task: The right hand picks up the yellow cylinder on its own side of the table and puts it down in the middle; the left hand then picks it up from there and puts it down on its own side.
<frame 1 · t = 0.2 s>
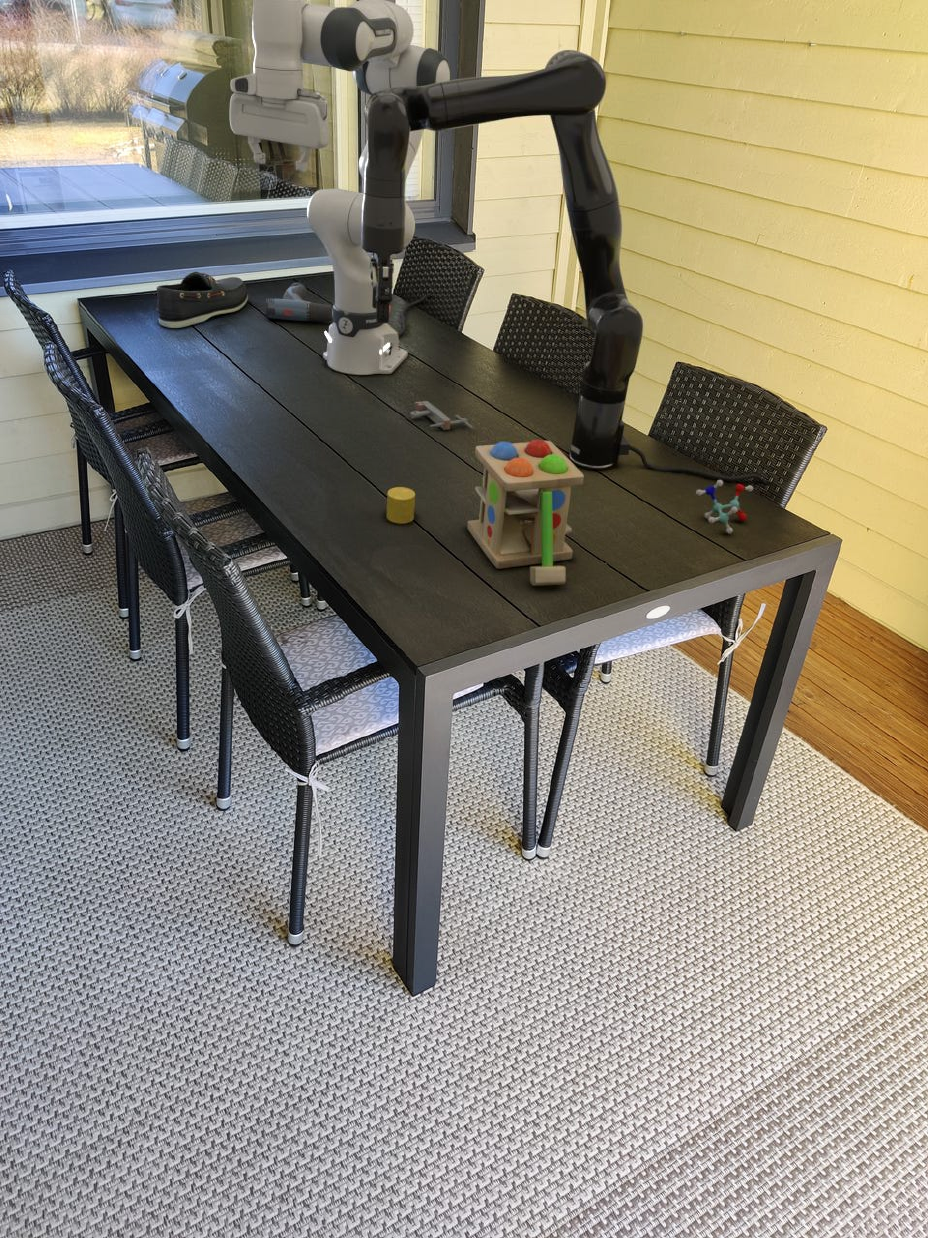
left hand: (280, 167, 187), 48 cm above the table, tool pointing down, fingers open, 8 cm apart
right hand: (380, 315, 178), 29 cm above the table, tool pointing down, fingers open, 8 cm apart
clamp: (438, 423, 212), on the table
molecular model: (718, 522, 185), on the table
boat shoe: (204, 312, 261), on the table
power drill: (305, 313, 267), on the table
pounding bench toy: (527, 556, 168), on the table
yellow cylinder: (400, 517, 176), on the table
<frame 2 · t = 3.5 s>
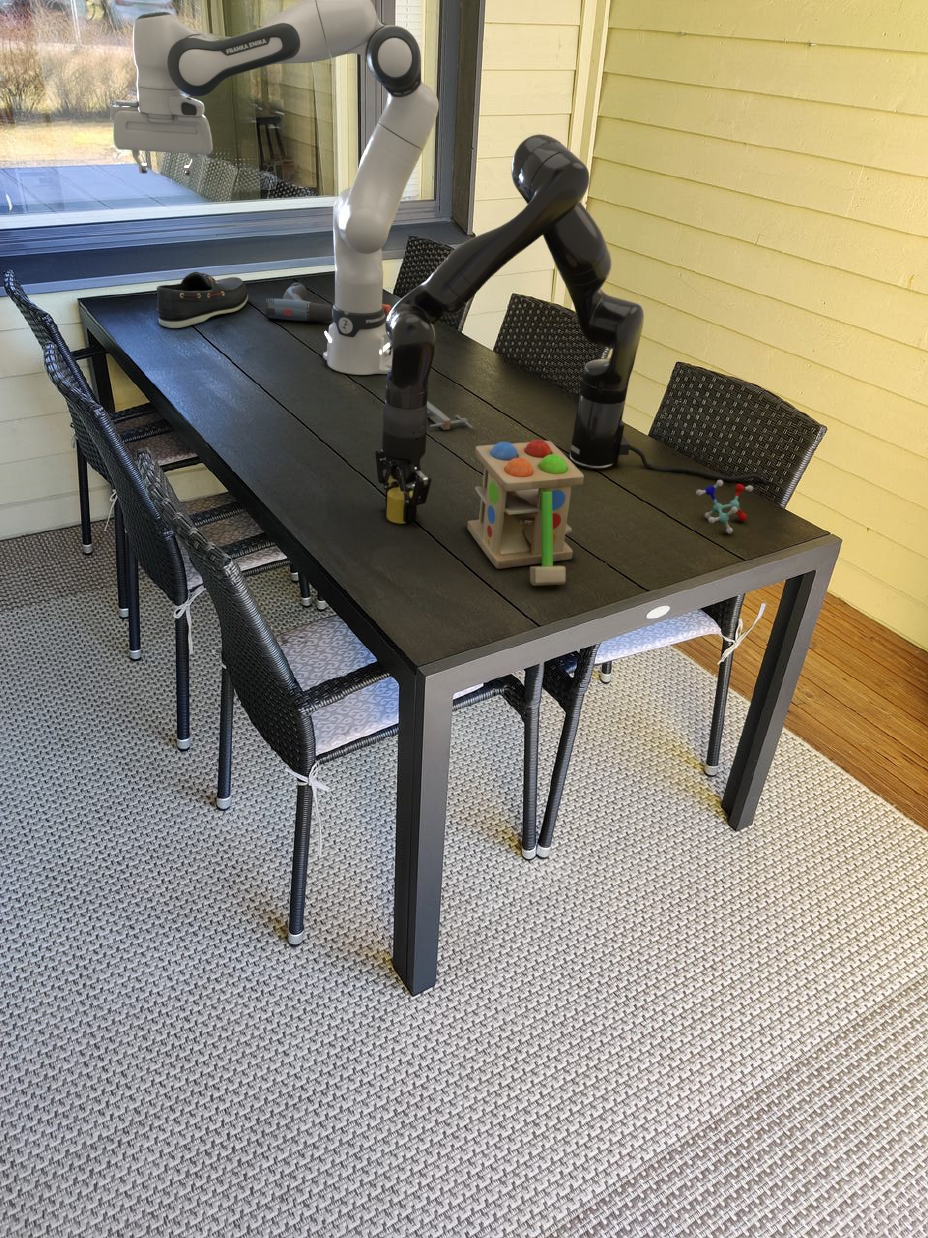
left hand: (166, 174, 212), 40 cm above the table, tool pointing down, fingers open, 8 cm apart
right hand: (400, 514, 176), 1 cm above the table, tool pointing down, fingers closed on yellow cylinder, 5 cm apart
yellow cylinder: (400, 517, 176), on the table, touching right hand
everything else where it was.
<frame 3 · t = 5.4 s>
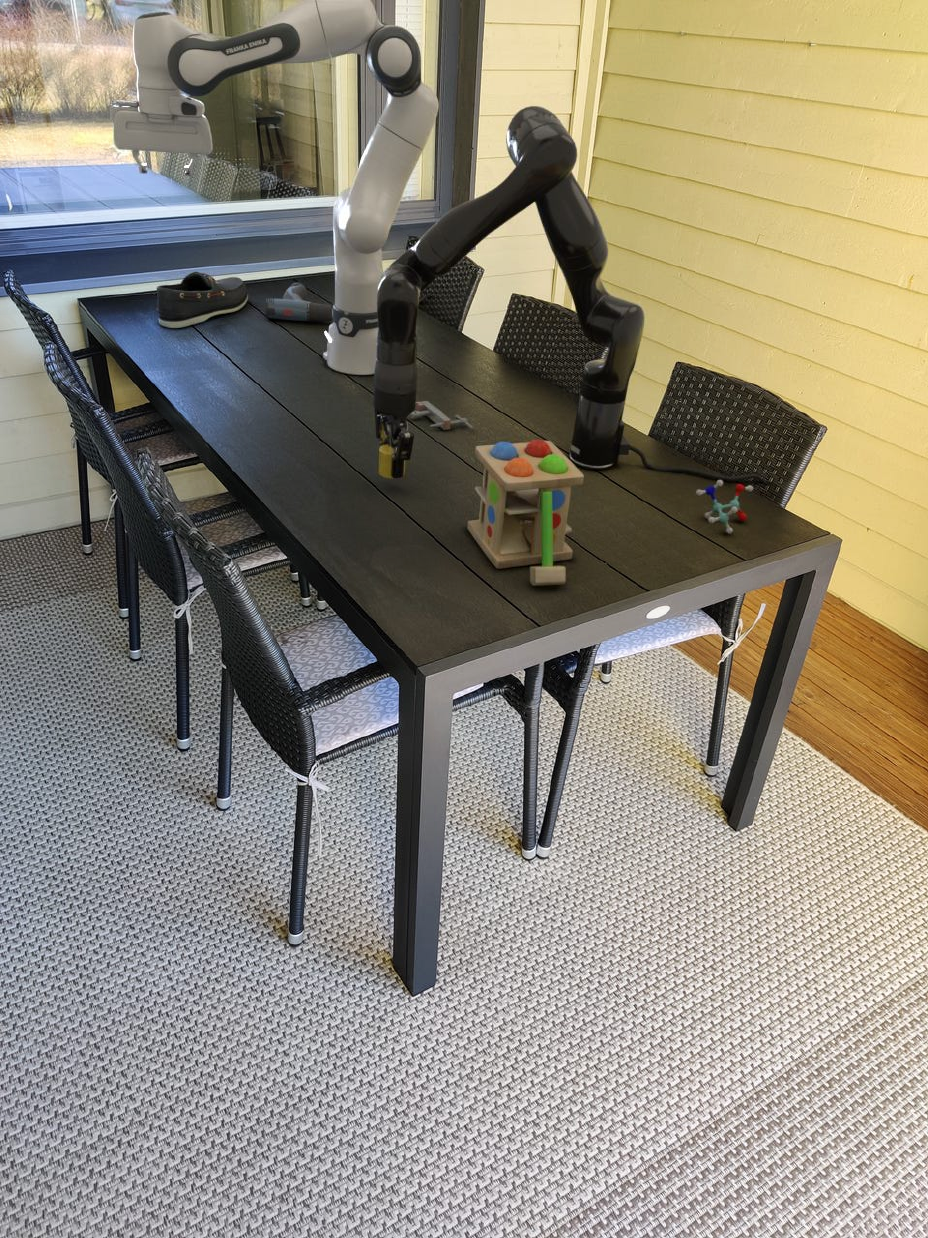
left hand: (166, 174, 212), 40 cm above the table, tool pointing down, fingers open, 8 cm apart
right hand: (391, 470, 183), 4 cm above the table, tool pointing down, fingers closed on yellow cylinder, 5 cm apart
yellow cylinder: (391, 472, 183), point 3 cm above the table, touching right hand
everything else where it was.
when the right hand's fingers open (1 cm above the table, at t = 7.2 s): yellow cylinder stays where it is, on the table.
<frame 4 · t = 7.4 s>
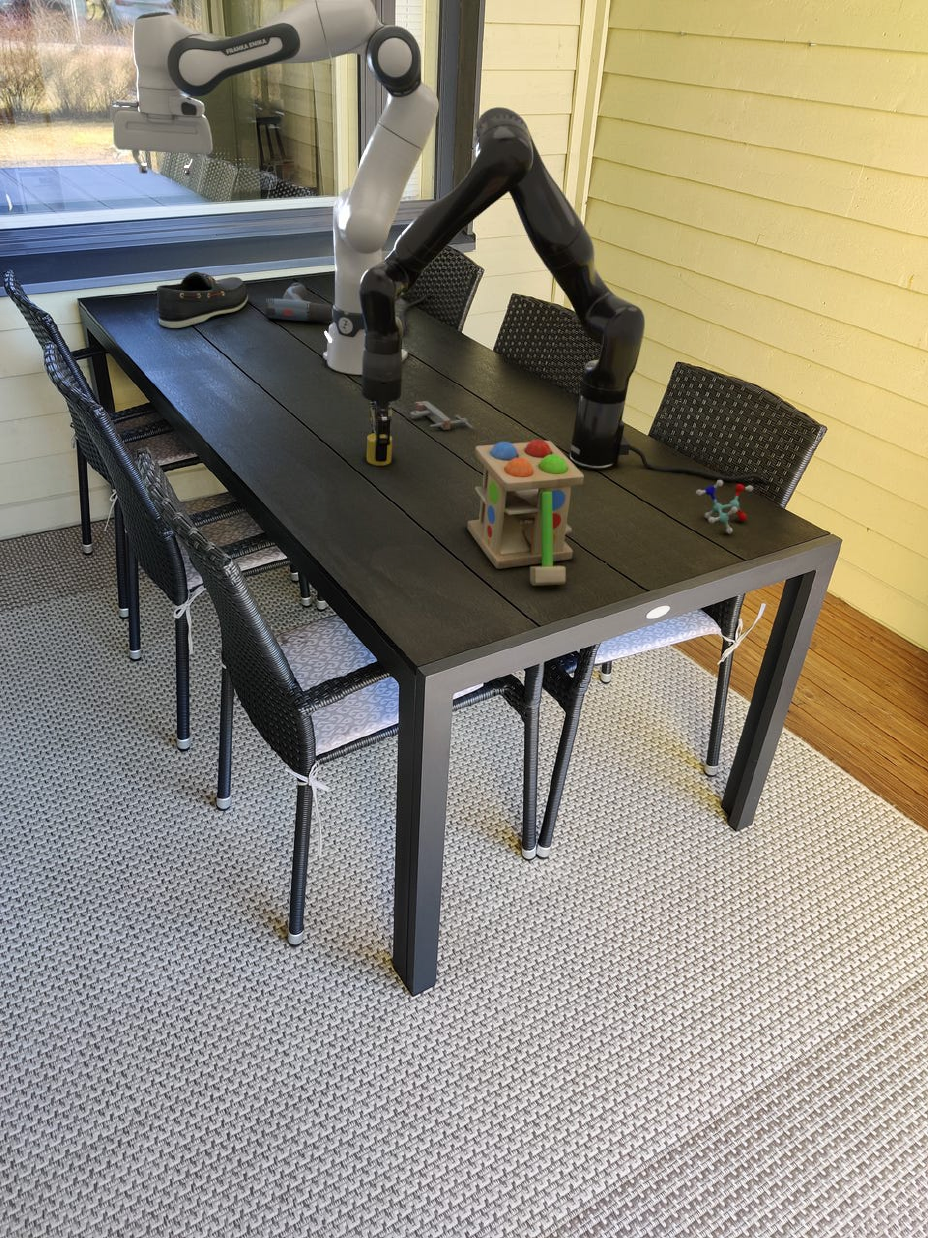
left hand: (166, 174, 212), 40 cm above the table, tool pointing down, fingers open, 8 cm apart
right hand: (379, 452, 194), 2 cm above the table, tool pointing down, fingers open, 6 cm apart
yellow cylinder: (379, 460, 195), on the table
everything else where it was.
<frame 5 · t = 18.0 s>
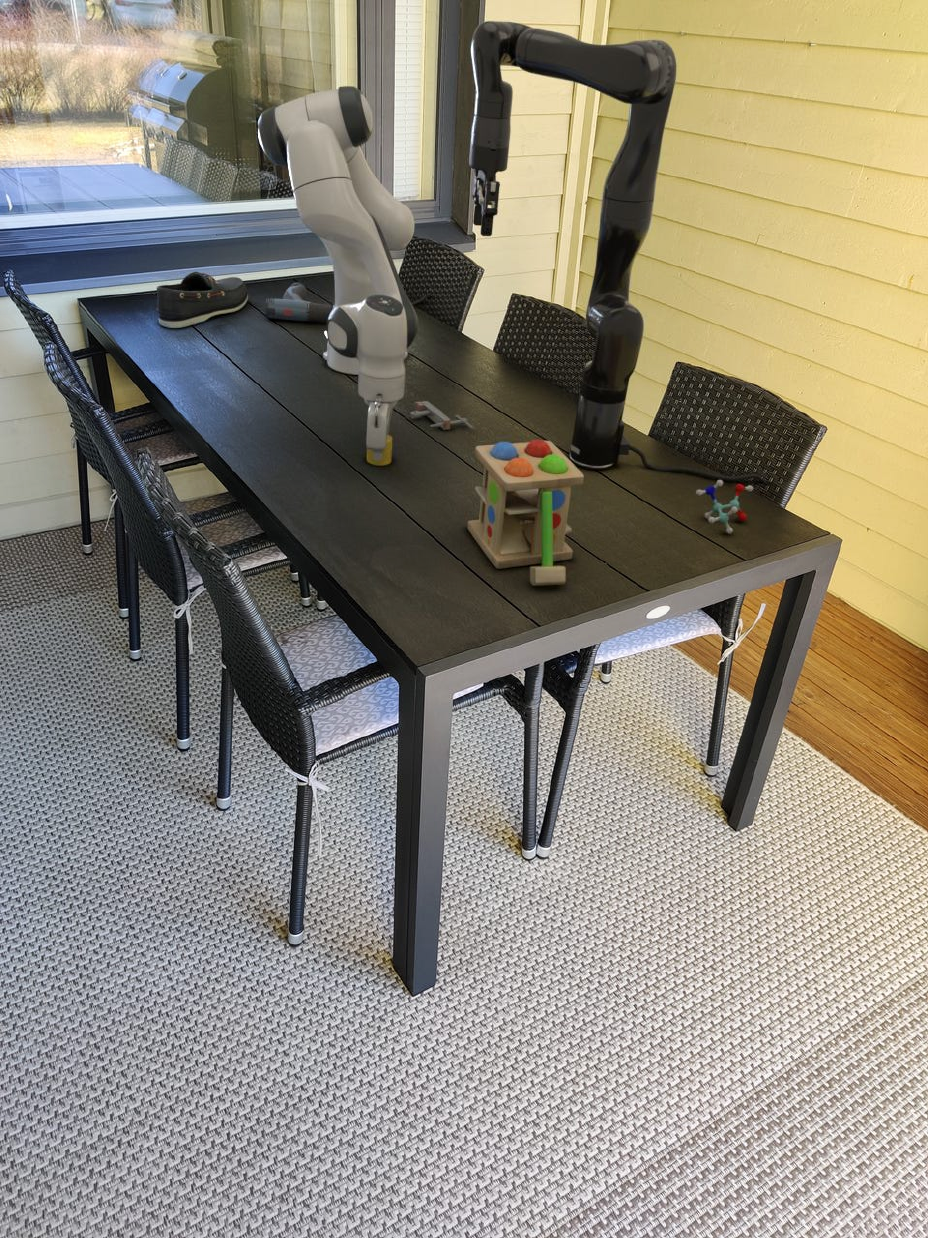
left hand: (378, 452, 194), 2 cm above the table, tool pointing down, fingers closed on yellow cylinder, 5 cm apart
right hand: (482, 230, 198), 39 cm above the table, tool pointing down, fingers open, 8 cm apart
yellow cylinder: (379, 460, 195), on the table, touching left hand
everything else where it was.
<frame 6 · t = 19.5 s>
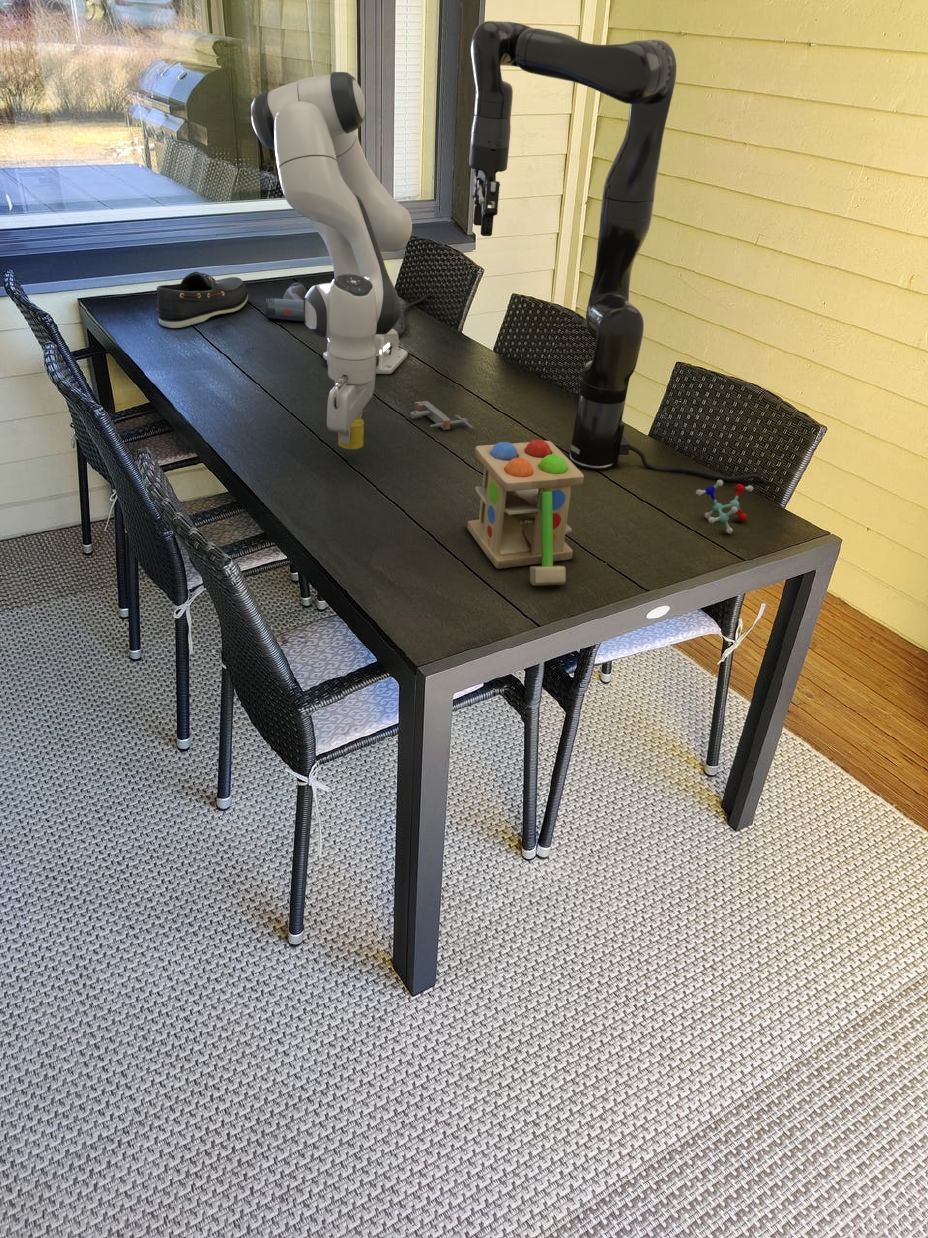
left hand: (350, 435, 191), 5 cm above the table, tool pointing down, fingers closed on yellow cylinder, 5 cm apart
right hand: (482, 230, 198), 39 cm above the table, tool pointing down, fingers open, 8 cm apart
yellow cylinder: (350, 444, 192), point 3 cm above the table, touching left hand
everything else where it was.
when the left hand's fingers open (2 cm above the table, at t = 21.1 s): yellow cylinder stays where it is, on the table.
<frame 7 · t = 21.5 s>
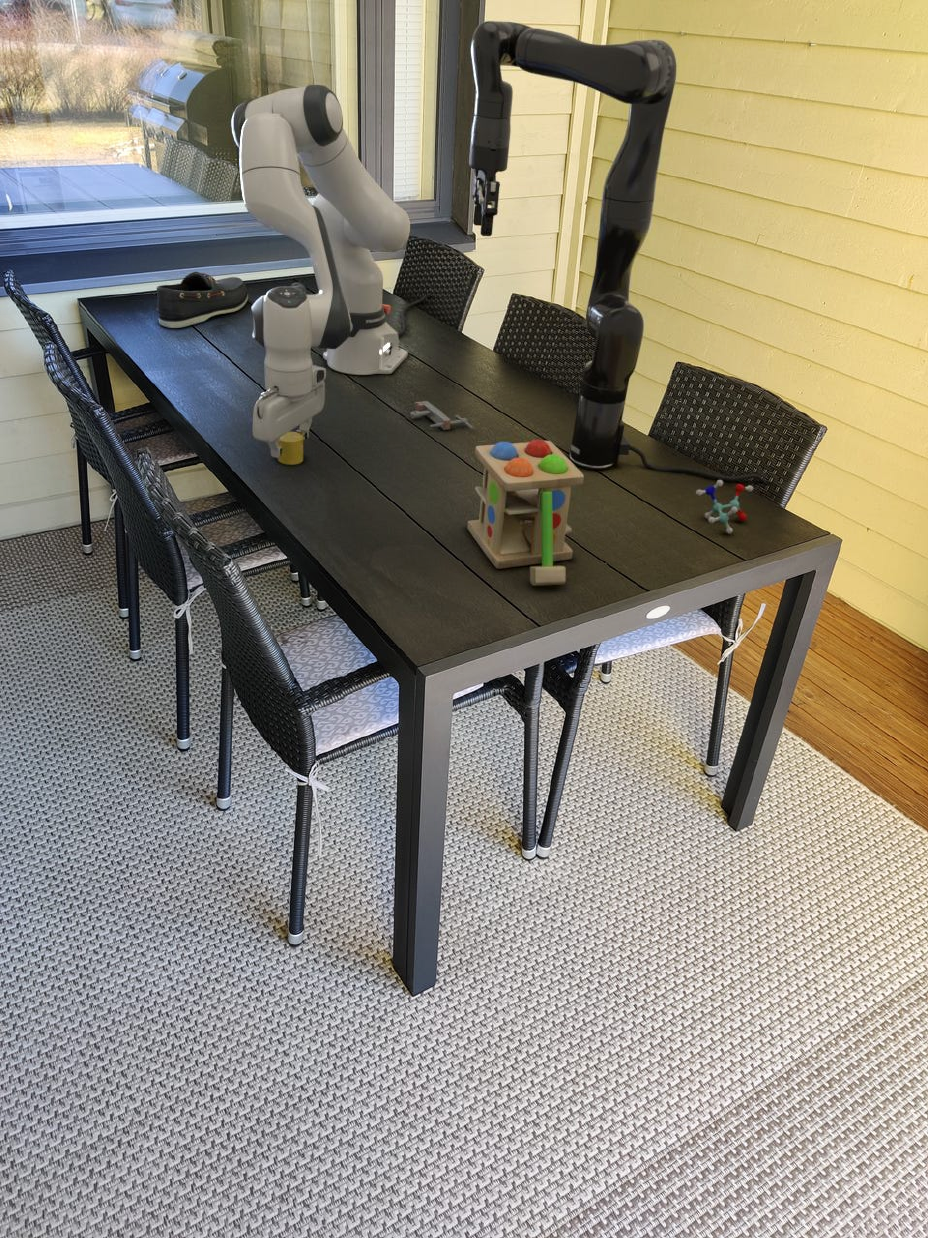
left hand: (290, 447, 191), 3 cm above the table, tool pointing down, fingers open, 8 cm apart
right hand: (482, 230, 198), 39 cm above the table, tool pointing down, fingers open, 8 cm apart
yellow cylinder: (290, 459, 192), on the table
everything else where it was.
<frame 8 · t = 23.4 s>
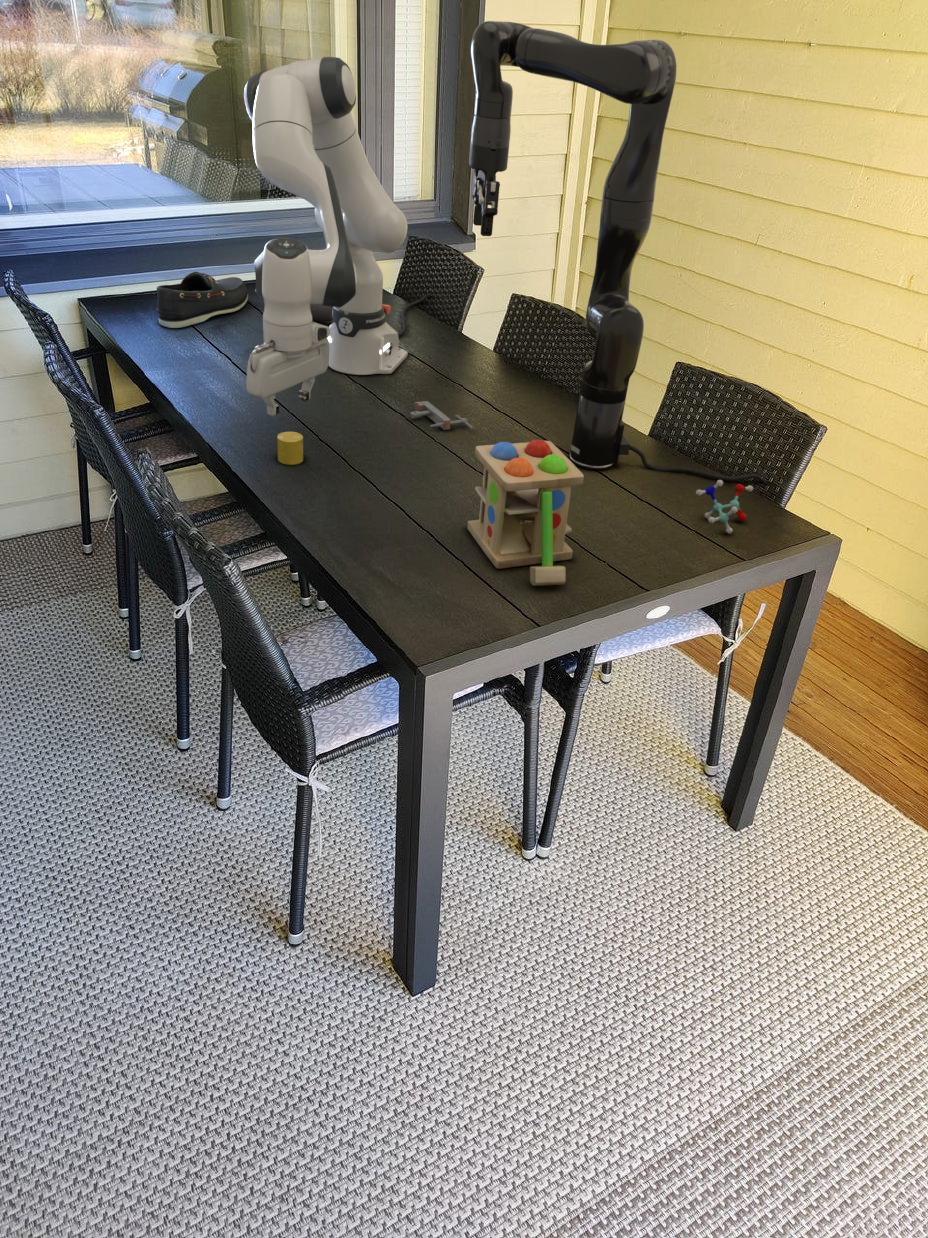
left hand: (289, 406, 186), 11 cm above the table, tool pointing down, fingers open, 8 cm apart
right hand: (482, 230, 198), 39 cm above the table, tool pointing down, fingers open, 8 cm apart
nothing on the table moved.
at the end: yellow cylinder inside the target area (0.1 cm from its centre), on the table; yellow cylinder tilted 0°; the two hands never held the yellow cylinder at the same time; the left hand is holding nothing; the right hand is holding nothing; yellow cylinder at rest at the end (0.0 cm/s) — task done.
